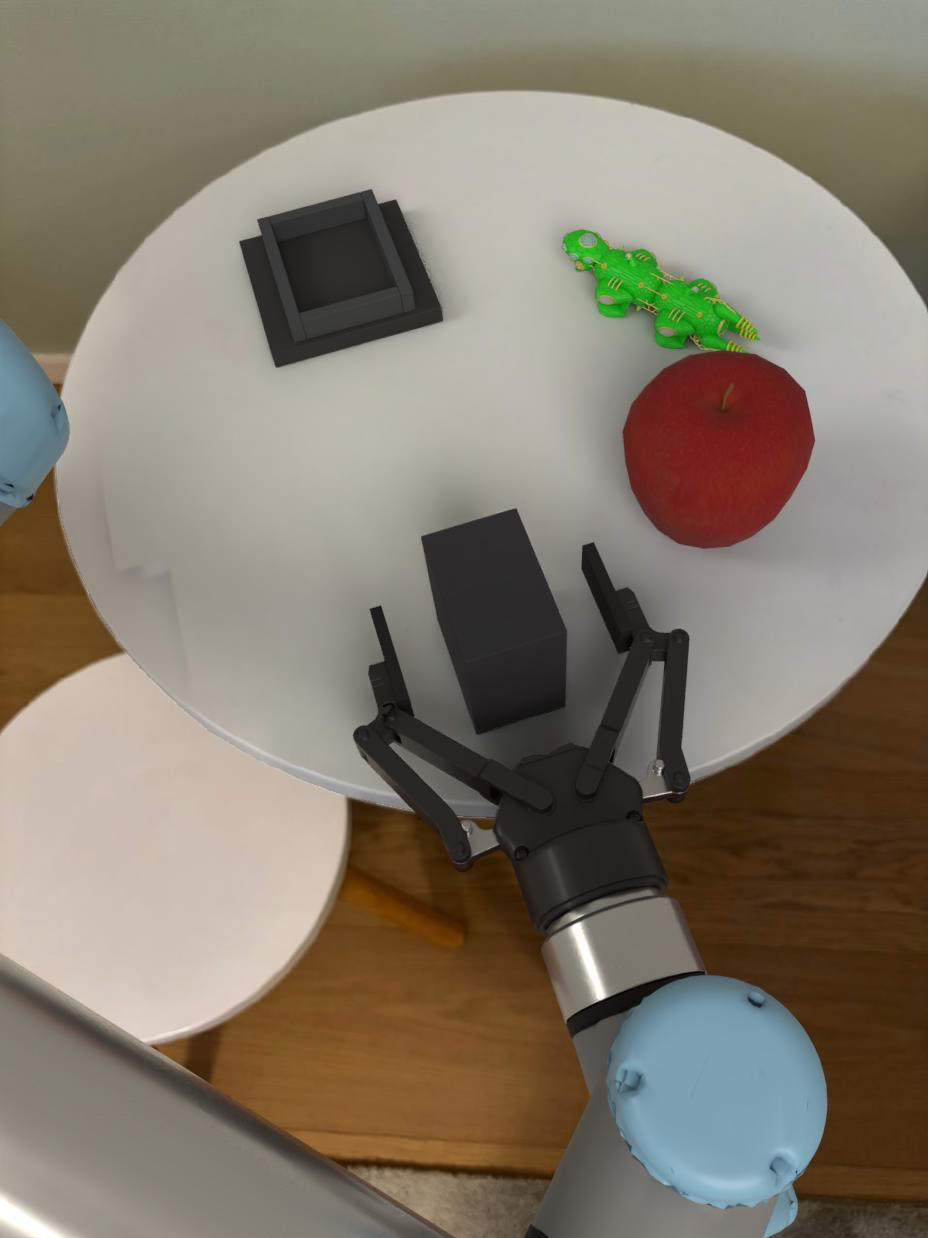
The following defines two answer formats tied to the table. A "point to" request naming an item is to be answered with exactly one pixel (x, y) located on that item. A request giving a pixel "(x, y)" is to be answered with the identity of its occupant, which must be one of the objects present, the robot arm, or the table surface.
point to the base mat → (337, 277)
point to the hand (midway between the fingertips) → (483, 585)
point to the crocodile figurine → (656, 294)
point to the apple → (717, 446)
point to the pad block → (497, 620)
